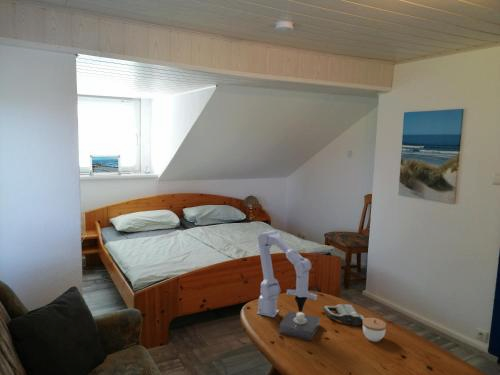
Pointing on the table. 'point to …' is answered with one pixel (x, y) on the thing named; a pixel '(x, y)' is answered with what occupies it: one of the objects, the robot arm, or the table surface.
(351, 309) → the portable electronic device
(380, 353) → the table surface
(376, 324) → the lidded jar
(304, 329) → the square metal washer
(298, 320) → the flanged cylindrical plug
